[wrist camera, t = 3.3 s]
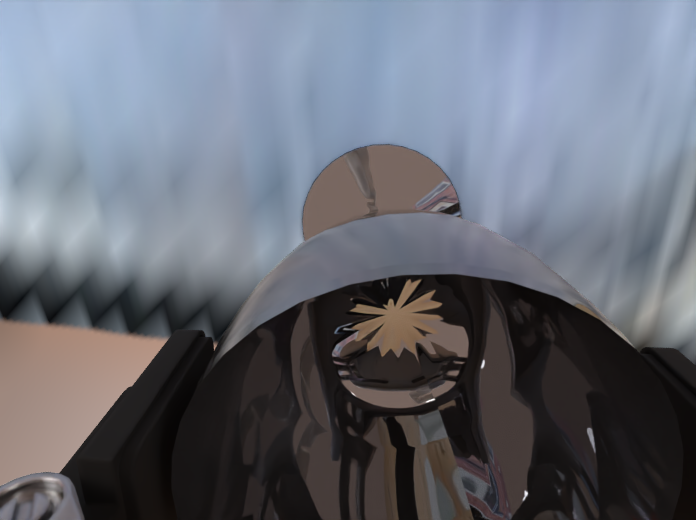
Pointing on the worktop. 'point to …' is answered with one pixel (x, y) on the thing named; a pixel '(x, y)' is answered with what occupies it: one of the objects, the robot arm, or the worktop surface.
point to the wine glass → (420, 376)
